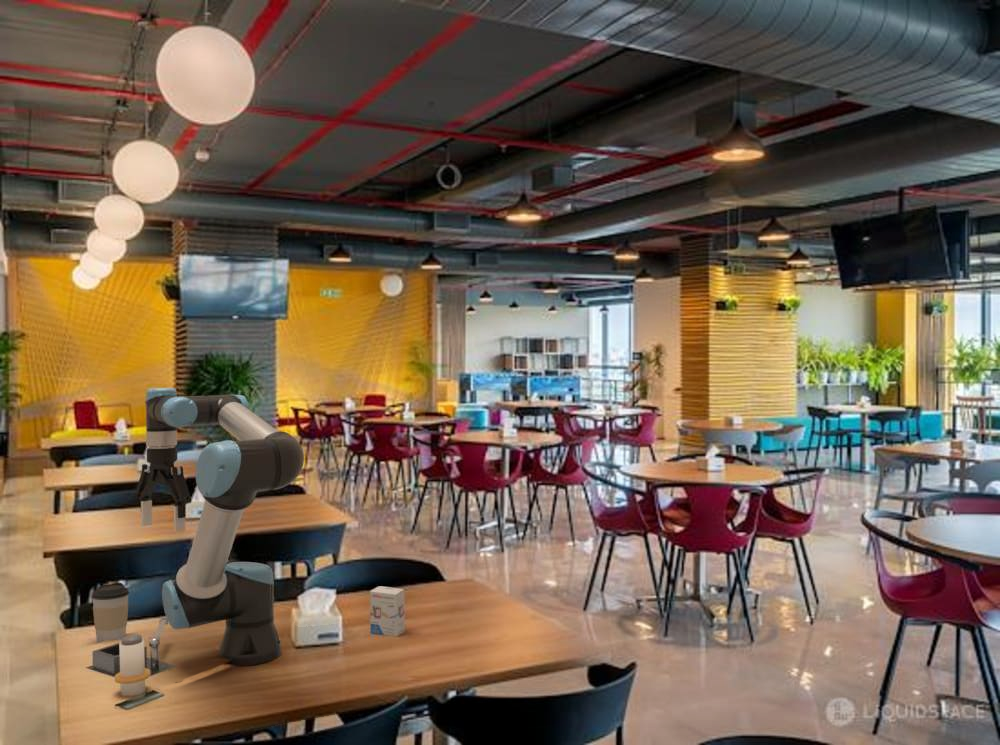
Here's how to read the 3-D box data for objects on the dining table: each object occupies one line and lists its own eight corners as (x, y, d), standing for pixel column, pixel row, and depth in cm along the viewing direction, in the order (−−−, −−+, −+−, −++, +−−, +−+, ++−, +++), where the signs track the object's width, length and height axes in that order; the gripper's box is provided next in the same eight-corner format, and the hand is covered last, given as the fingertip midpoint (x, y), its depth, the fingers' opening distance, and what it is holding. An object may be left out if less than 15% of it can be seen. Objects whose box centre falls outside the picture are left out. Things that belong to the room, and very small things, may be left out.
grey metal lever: (159, 646, 199) (159, 639, 199) (148, 647, 198) (148, 640, 198) (169, 623, 217) (169, 616, 216) (159, 623, 216) (159, 617, 216)
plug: (157, 693, 186) (156, 635, 186) (128, 705, 180) (126, 645, 180) (138, 687, 190) (136, 630, 190) (108, 698, 184) (106, 639, 184)
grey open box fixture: (177, 672, 200) (176, 644, 200) (131, 689, 190) (131, 660, 190) (131, 658, 210) (130, 632, 210) (85, 673, 200) (85, 646, 200)
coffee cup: (115, 648, 217) (114, 591, 217) (84, 646, 219) (83, 589, 219) (137, 637, 226) (136, 582, 226) (107, 635, 228) (106, 580, 228)
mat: (164, 695, 186) (164, 693, 186) (127, 709, 179) (127, 707, 179) (139, 687, 191) (139, 685, 191) (102, 701, 184) (102, 699, 184)
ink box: (369, 633, 228) (368, 590, 228) (378, 628, 233) (378, 585, 233) (396, 637, 225) (396, 593, 225) (405, 631, 230) (405, 588, 230)
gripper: (205, 448, 216) (206, 530, 217) (145, 443, 230) (146, 520, 230) (180, 450, 210) (181, 535, 210) (120, 445, 223) (121, 525, 223)
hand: (162, 527), depth 220 cm, fingers open, 13 cm apart
